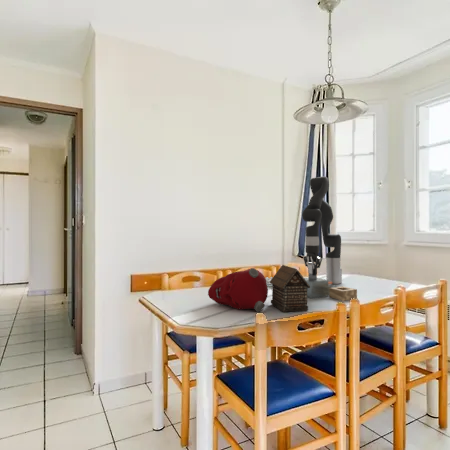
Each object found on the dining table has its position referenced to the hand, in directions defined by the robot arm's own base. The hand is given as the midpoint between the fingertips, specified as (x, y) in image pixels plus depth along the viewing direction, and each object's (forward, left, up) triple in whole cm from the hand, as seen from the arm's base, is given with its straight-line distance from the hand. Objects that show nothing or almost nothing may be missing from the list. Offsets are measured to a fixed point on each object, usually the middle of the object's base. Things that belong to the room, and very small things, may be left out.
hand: (312, 274), depth 193 cm
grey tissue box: (-4, 0, -12) cm, 12 cm away
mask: (+47, +3, -12) cm, 49 cm away
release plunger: (-11, 0, -11) cm, 15 cm away
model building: (+28, +16, -12) cm, 34 cm away
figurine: (-2, -25, -12) cm, 28 cm away
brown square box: (-10, +13, -12) cm, 20 cm away
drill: (0, 0, -8) cm, 8 cm away
